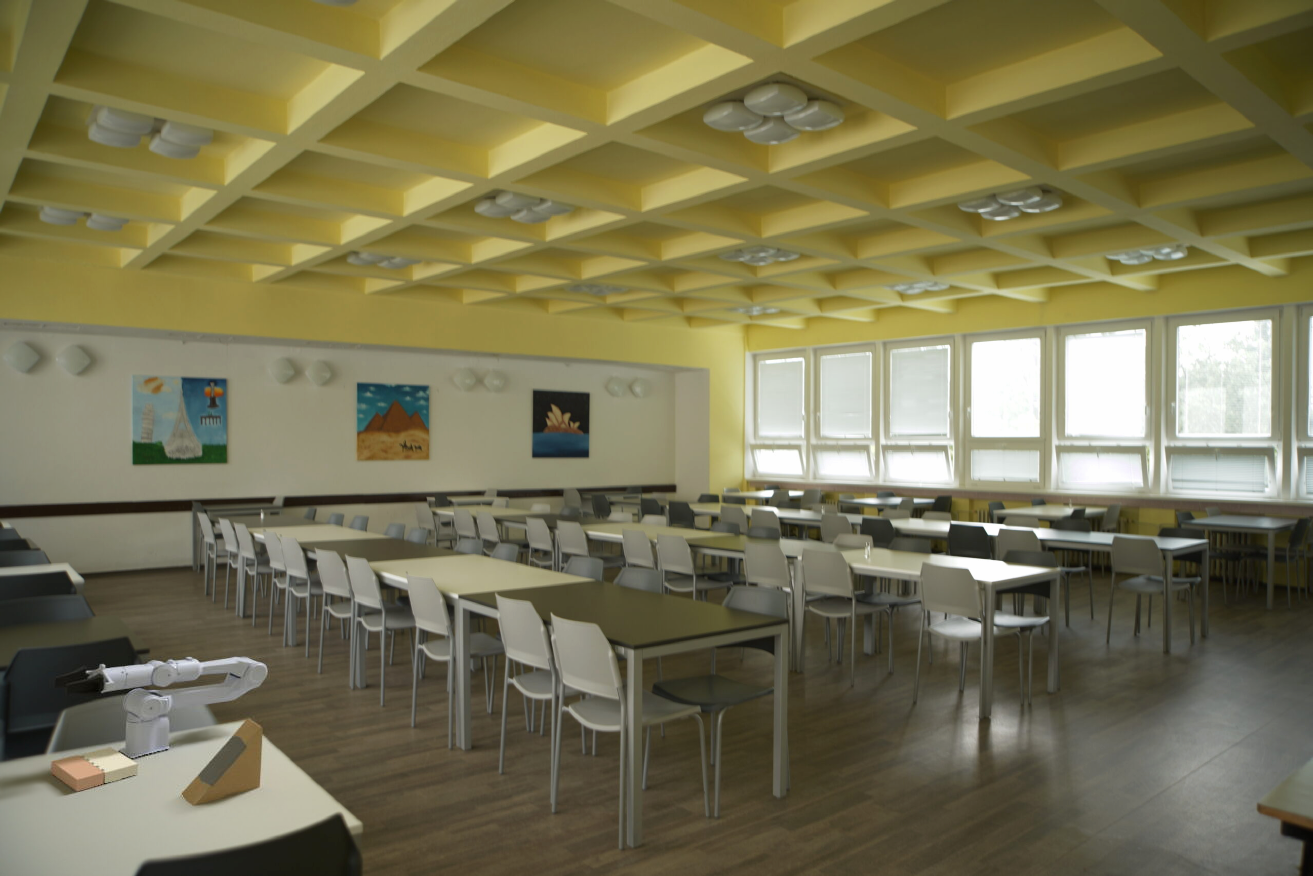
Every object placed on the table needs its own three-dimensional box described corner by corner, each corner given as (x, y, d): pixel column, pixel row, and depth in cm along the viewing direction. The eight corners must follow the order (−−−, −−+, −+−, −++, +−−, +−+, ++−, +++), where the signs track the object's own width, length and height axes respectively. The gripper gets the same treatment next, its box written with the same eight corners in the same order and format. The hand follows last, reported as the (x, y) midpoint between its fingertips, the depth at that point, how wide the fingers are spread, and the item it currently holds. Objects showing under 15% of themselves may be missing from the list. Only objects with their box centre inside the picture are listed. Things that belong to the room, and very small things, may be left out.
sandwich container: (178, 795, 198) (181, 731, 198) (245, 777, 209) (248, 717, 209) (192, 807, 192) (194, 741, 192) (260, 788, 204) (263, 726, 203)
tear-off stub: (76, 766, 210) (77, 755, 210) (103, 784, 201) (103, 772, 201) (51, 772, 206) (51, 761, 206) (76, 791, 197) (77, 779, 197)
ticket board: (110, 758, 217) (110, 746, 217) (137, 775, 207) (137, 763, 207) (78, 766, 211) (78, 754, 211) (104, 784, 201) (105, 772, 201)
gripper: (111, 656, 222) (51, 663, 211) (135, 668, 213) (74, 675, 202) (108, 683, 221) (47, 691, 210) (131, 696, 213) (70, 705, 202)
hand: (60, 685), depth 206 cm, fingers open, 7 cm apart
